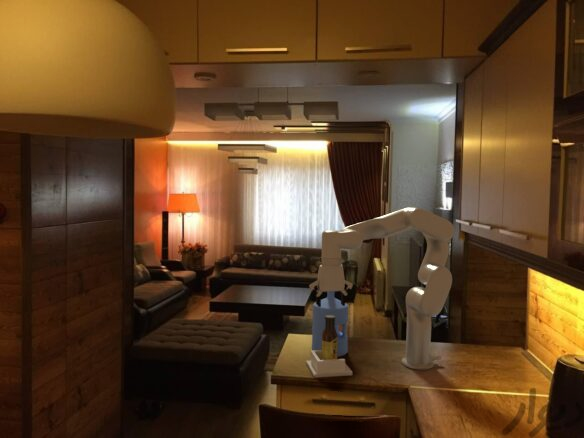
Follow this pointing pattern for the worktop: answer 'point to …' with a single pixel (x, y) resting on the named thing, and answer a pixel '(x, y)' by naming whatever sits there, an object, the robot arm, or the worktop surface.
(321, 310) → the water jug
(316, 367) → the end holder
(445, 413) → the worktop surface
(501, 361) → the worktop surface
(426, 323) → the robot arm
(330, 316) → the sauce bottle
